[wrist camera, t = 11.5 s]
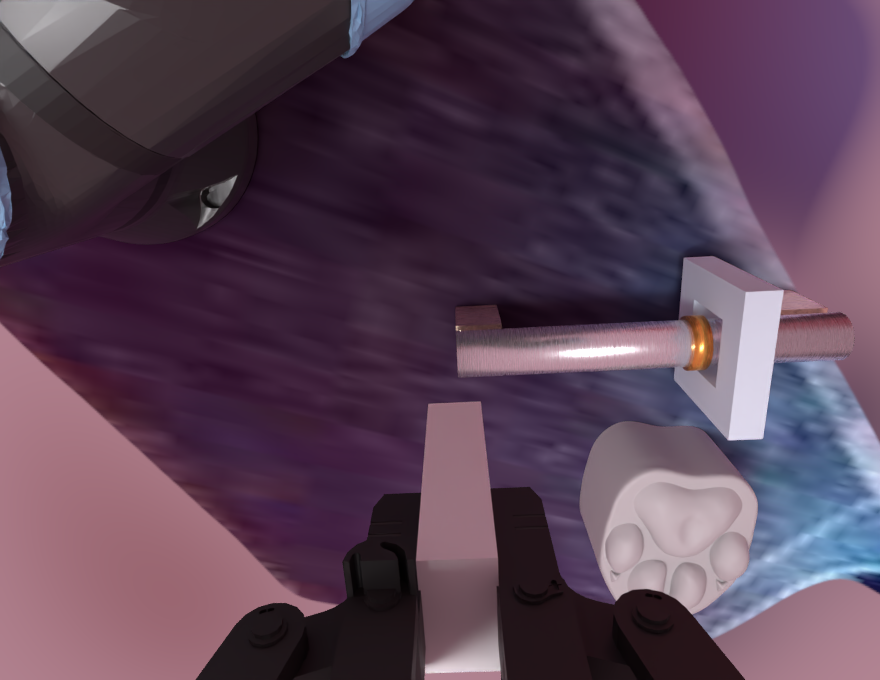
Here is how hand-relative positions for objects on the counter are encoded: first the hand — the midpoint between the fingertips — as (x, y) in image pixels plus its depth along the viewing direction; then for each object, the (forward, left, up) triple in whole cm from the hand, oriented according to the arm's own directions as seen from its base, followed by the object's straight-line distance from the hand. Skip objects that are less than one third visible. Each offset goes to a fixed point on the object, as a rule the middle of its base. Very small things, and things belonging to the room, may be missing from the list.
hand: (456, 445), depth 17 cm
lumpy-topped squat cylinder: (+20, +15, -27) cm, 37 cm away
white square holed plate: (+5, +17, -25) cm, 30 cm away
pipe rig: (+5, +12, -26) cm, 29 cm away
